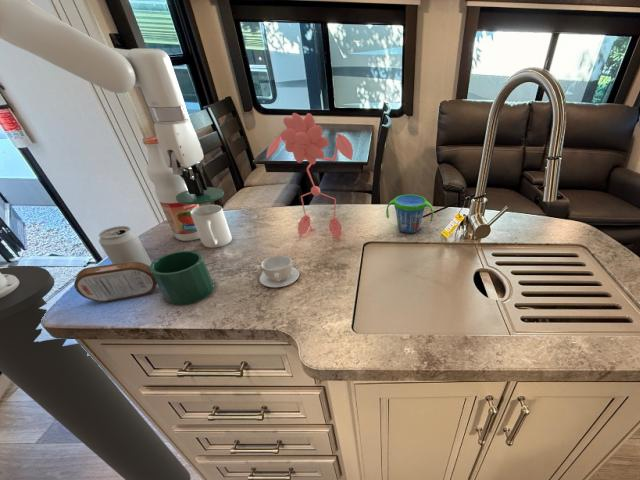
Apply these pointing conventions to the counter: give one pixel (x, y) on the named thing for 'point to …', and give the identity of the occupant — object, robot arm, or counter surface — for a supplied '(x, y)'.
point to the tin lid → (205, 197)
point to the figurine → (310, 156)
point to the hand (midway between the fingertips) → (198, 191)
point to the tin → (115, 281)
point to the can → (123, 245)
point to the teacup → (278, 271)
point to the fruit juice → (170, 193)
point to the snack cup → (409, 212)
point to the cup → (211, 225)
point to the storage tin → (182, 277)
